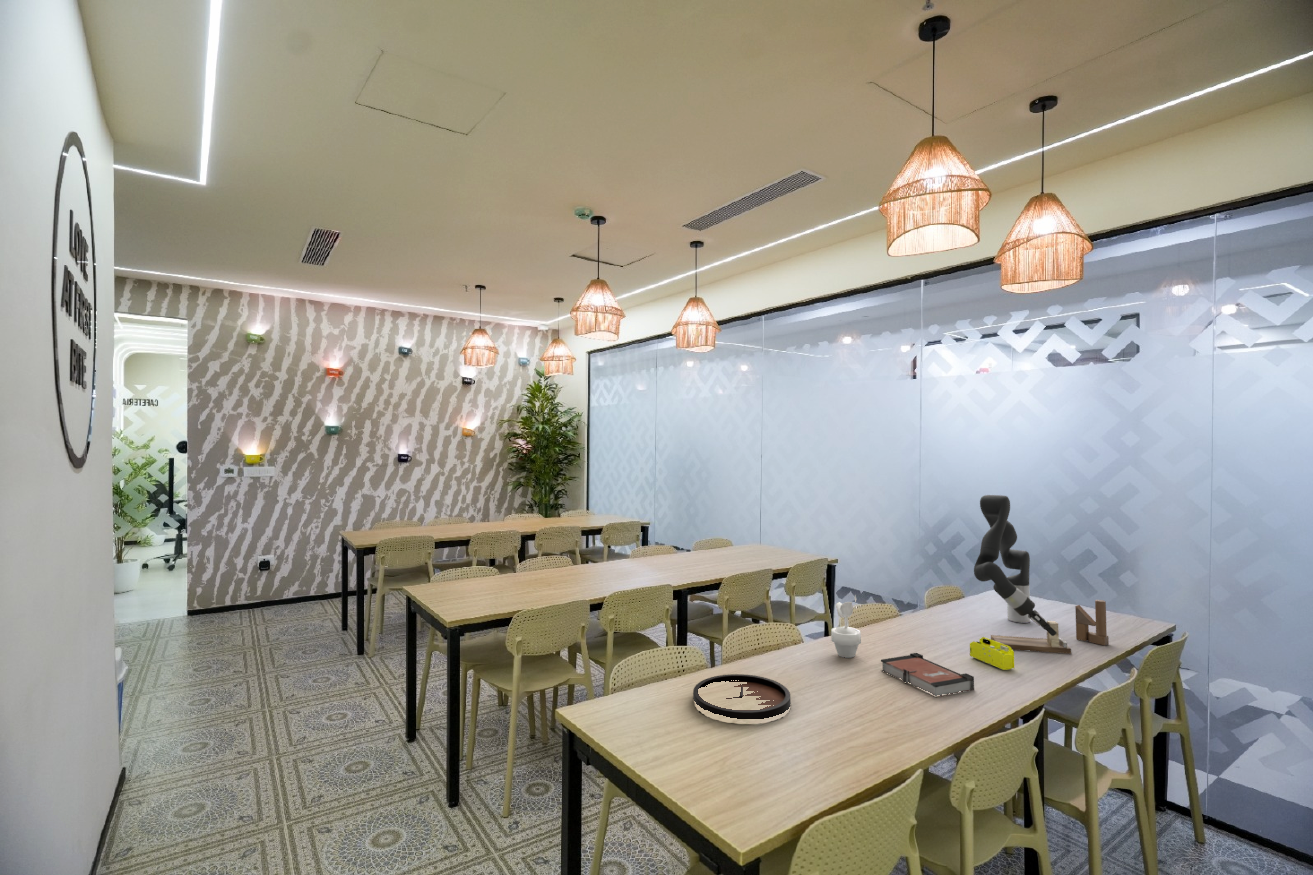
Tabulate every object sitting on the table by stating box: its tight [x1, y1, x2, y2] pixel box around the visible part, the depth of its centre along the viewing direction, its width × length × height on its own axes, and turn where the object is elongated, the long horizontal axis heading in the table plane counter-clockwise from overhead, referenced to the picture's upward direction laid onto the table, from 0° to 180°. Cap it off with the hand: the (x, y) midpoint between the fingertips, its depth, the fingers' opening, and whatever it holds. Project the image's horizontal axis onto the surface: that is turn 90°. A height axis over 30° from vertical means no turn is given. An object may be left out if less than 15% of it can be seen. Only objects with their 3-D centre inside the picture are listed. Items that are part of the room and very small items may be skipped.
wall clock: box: [692, 673, 792, 719], centre depth 198 cm, size 31×4×31 cm
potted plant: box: [830, 593, 862, 659], centre depth 243 cm, size 13×12×25 cm
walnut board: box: [990, 634, 1072, 655], centre depth 251 cm, size 12×26×4 cm, turn 74°
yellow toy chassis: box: [969, 636, 1015, 671], centre depth 231 cm, size 16×6×8 cm, turn 16°
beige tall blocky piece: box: [1046, 620, 1060, 647], centre depth 247 cm, size 7×3×9 cm, turn 165°
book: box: [880, 652, 975, 697], centre depth 216 cm, size 26×18×5 cm
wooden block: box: [1074, 599, 1110, 646], centre depth 256 cm, size 4×11×18 cm, turn 33°
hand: (1050, 631), depth 247 cm, fingers open, 8 cm apart
